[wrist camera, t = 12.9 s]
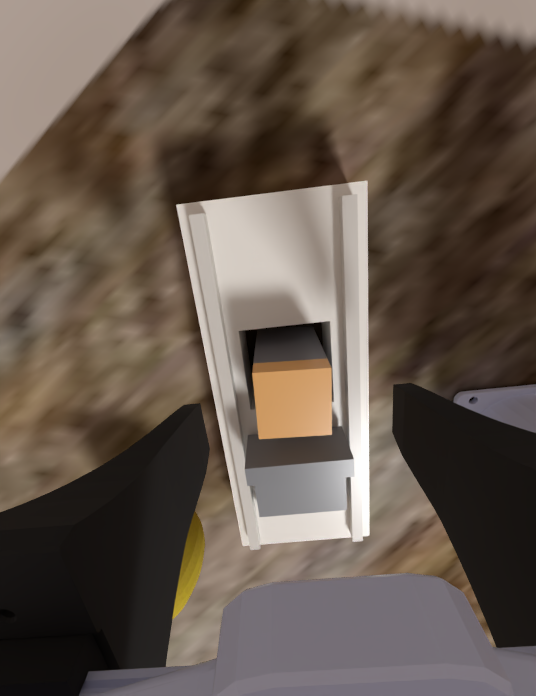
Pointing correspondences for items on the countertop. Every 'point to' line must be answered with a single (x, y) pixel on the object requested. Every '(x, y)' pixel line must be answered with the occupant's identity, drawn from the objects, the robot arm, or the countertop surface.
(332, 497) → the shutter
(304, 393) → the orange and grey block
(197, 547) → the lemon
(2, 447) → the countertop surface
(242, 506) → the socket board
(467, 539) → the robot arm
